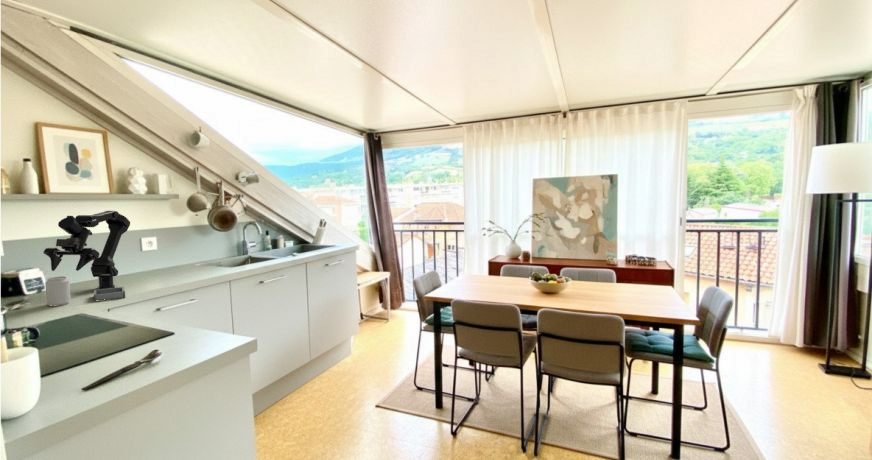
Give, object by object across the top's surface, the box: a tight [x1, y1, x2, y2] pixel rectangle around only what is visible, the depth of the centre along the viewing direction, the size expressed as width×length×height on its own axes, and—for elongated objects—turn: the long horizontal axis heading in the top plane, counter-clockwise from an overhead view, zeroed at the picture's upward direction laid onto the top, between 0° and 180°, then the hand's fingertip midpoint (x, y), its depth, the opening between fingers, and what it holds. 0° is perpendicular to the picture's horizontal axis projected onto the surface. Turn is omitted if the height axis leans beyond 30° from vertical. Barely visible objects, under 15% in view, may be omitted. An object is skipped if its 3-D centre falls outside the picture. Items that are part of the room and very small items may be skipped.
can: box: [44, 275, 72, 307], centre depth 167 cm, size 8×8×12 cm
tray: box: [93, 286, 126, 301], centre depth 180 cm, size 11×11×3 cm
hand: (64, 270), depth 168 cm, fingers open, 9 cm apart
